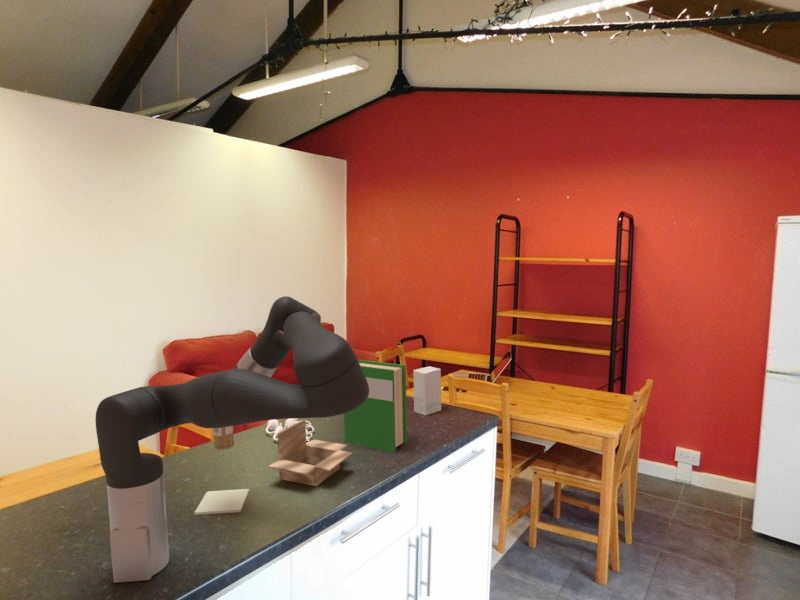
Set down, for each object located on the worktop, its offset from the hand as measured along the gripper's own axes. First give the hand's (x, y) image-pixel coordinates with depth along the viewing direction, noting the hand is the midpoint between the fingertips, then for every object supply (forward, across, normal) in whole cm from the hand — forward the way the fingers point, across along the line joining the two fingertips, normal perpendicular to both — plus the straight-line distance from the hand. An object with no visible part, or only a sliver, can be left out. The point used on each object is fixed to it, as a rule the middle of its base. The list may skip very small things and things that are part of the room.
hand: (216, 418), depth 116 cm
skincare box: (0, +80, -28) cm, 84 cm away
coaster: (+13, 0, -15) cm, 20 cm away
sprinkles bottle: (+3, 0, -6) cm, 7 cm away
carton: (+5, +21, -23) cm, 31 cm away
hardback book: (+3, +46, -26) cm, 53 cm away
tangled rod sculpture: (+22, +42, -6) cm, 48 cm away
